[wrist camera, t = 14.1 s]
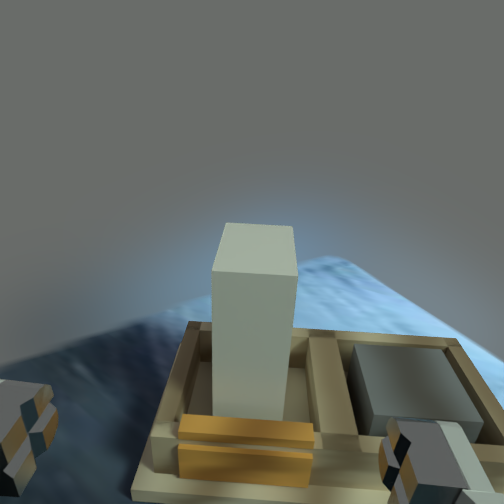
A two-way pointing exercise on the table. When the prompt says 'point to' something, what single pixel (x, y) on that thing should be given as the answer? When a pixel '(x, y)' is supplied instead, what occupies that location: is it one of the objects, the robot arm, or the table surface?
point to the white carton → (252, 320)
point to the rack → (312, 421)
